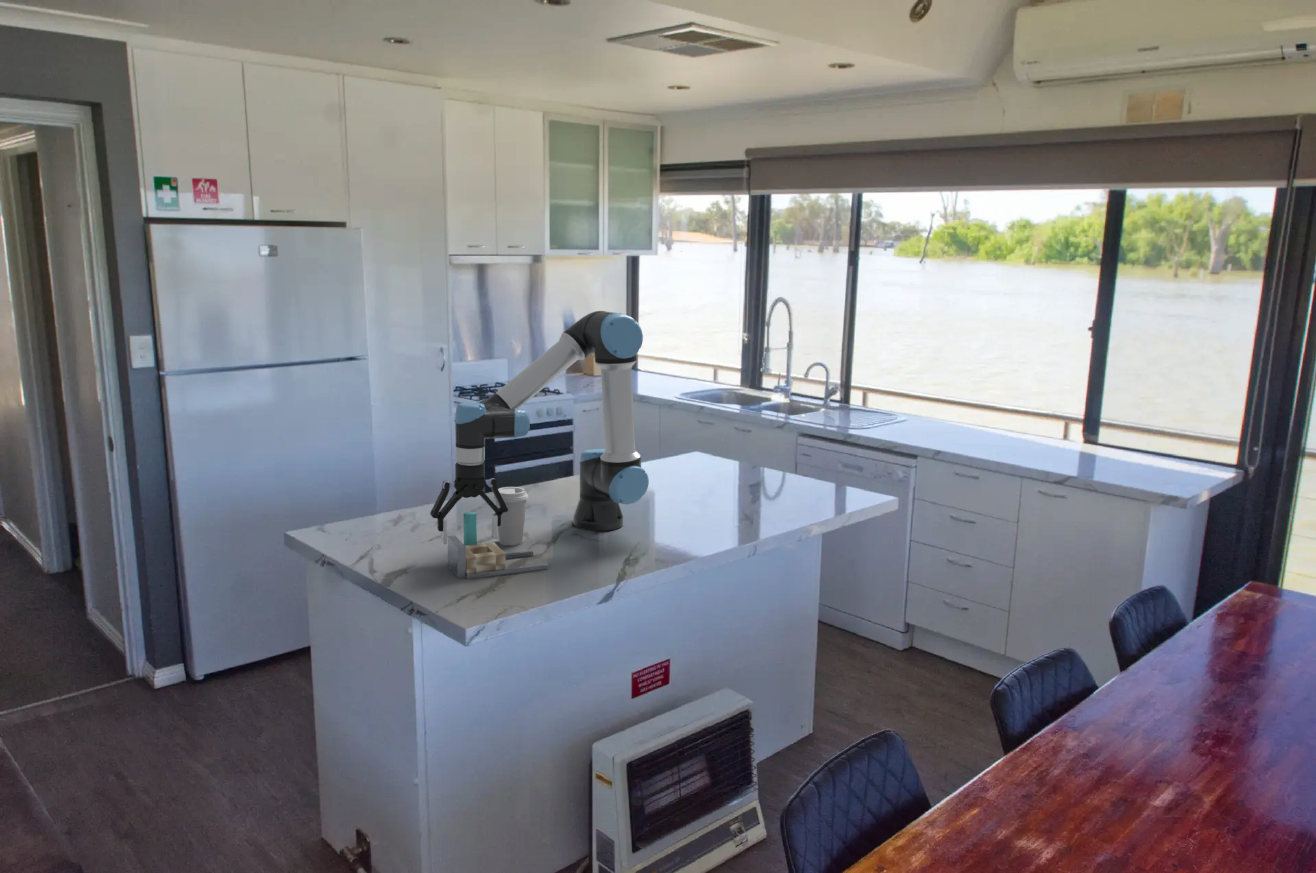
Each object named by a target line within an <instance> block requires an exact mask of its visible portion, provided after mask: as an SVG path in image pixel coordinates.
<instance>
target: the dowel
mask: <svg viewBox="0 0 1316 873" xmlns="http://www.w3.org/2000/svg"><path fill="white" fill-rule="evenodd" d="M477 515H478V514H477V512H474V511H467V512H464V513H463V544H464V546H466V545H475V544H478V541H477V540H478V535H477V533H478V532H477V531H478V530H477V529H478V522H477V521H478V518H477V517H478V516H477Z"/></svg>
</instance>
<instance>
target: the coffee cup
mask: <svg viewBox="0 0 1316 873" xmlns="http://www.w3.org/2000/svg"><path fill="white" fill-rule="evenodd" d="M498 490H499V492H500V494H501V496H502V498H503V500H504V502H505V504H506V506H507V508H508V511H507V512H504V513H502V515H501V525H500V526H497V536H498V543H499V544H500V545H503V546H508V547H509V546H511V547H512V546H518V545H521V544H522V543H523V542H524V541H523V540H524V532H525V531H524V528H525V519H526V508H527V500H528V499H529V495H528V493H527V491H526V489H525V488H523V487H518V486H505V487H504V486H503V487H499V488H498ZM493 499H494V500H495V505H496V506H497V507H498V508H500V505H499V503H498V501H497V499H496V497H495V495H494V494H493Z"/></svg>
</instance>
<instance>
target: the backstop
mask: <svg viewBox="0 0 1316 873" xmlns="http://www.w3.org/2000/svg"><path fill="white" fill-rule="evenodd" d="M533 556H534V550H526V551H518V552H509V553H505V560H507V559H517V558H524V557H525V558H526V557H533ZM447 566H448V568H449V569H450V570H451V572H452V573H453V574H454V576H455V577H456V578H457V579H466V580H471V579H479V578H487V577H494V576H505V575H512V574H520V573H528V572H535V571H545V570H548V569H549V564H548V563H542V564H533V565H526V566H518V567H516V566H515V567H511V568H510V567H509V568H505V569H500V570H492V571H483V572H475V573H467V574H466V547H465V546H464V542H462V541H461V540H460V539H459V538H458V536H456V535H450V536H449V535H448V536H447Z"/></svg>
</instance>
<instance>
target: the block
mask: <svg viewBox="0 0 1316 873" xmlns="http://www.w3.org/2000/svg"><path fill="white" fill-rule="evenodd" d="M465 547H466V574H467V573H475V572H483V571H492V570H500V569H506V559H505V554H506V553H505V552H504V551H503V550H502V549H501V548H500V547H499V546H498V545H497V544H496V543H495V542H487V543H486V542H485V543H477V544H475V545H466V546H465Z"/></svg>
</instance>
